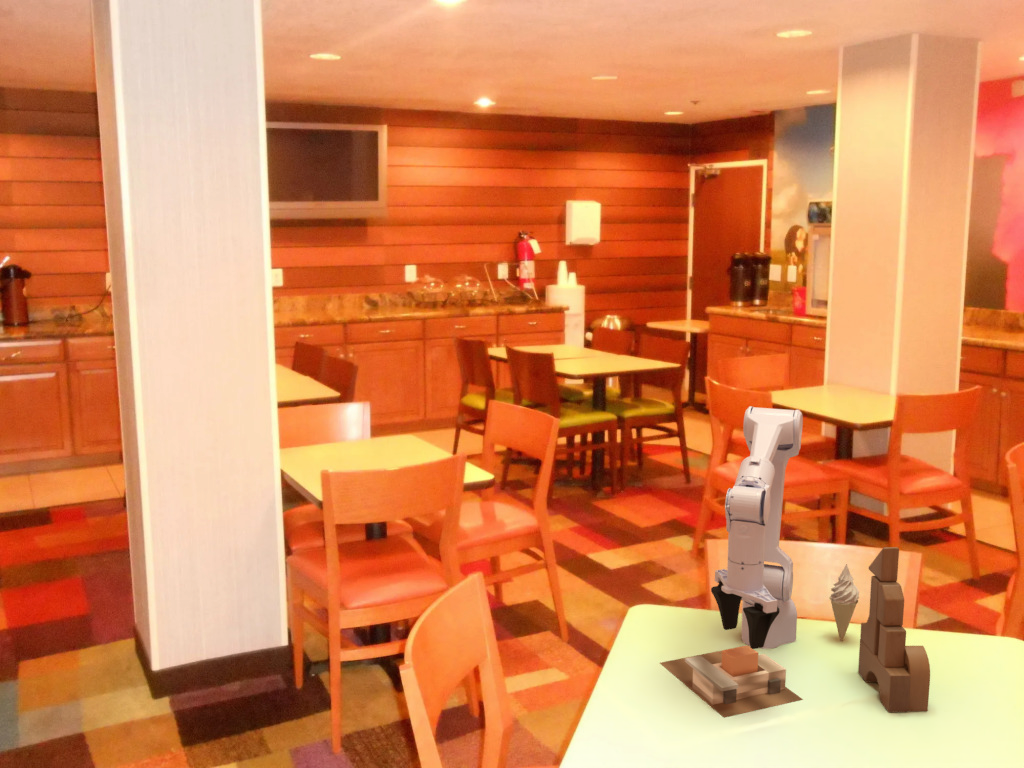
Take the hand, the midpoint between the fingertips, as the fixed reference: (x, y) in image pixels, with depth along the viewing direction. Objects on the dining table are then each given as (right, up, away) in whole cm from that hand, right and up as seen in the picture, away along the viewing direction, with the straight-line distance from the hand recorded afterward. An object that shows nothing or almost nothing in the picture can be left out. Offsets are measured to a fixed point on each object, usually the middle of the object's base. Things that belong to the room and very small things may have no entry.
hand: (743, 637), depth 156 cm
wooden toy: (+25, -10, +3) cm, 27 cm away
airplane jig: (-2, -9, +4) cm, 10 cm away
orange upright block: (0, -8, +1) cm, 8 cm away
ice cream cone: (+23, -6, +21) cm, 32 cm away
